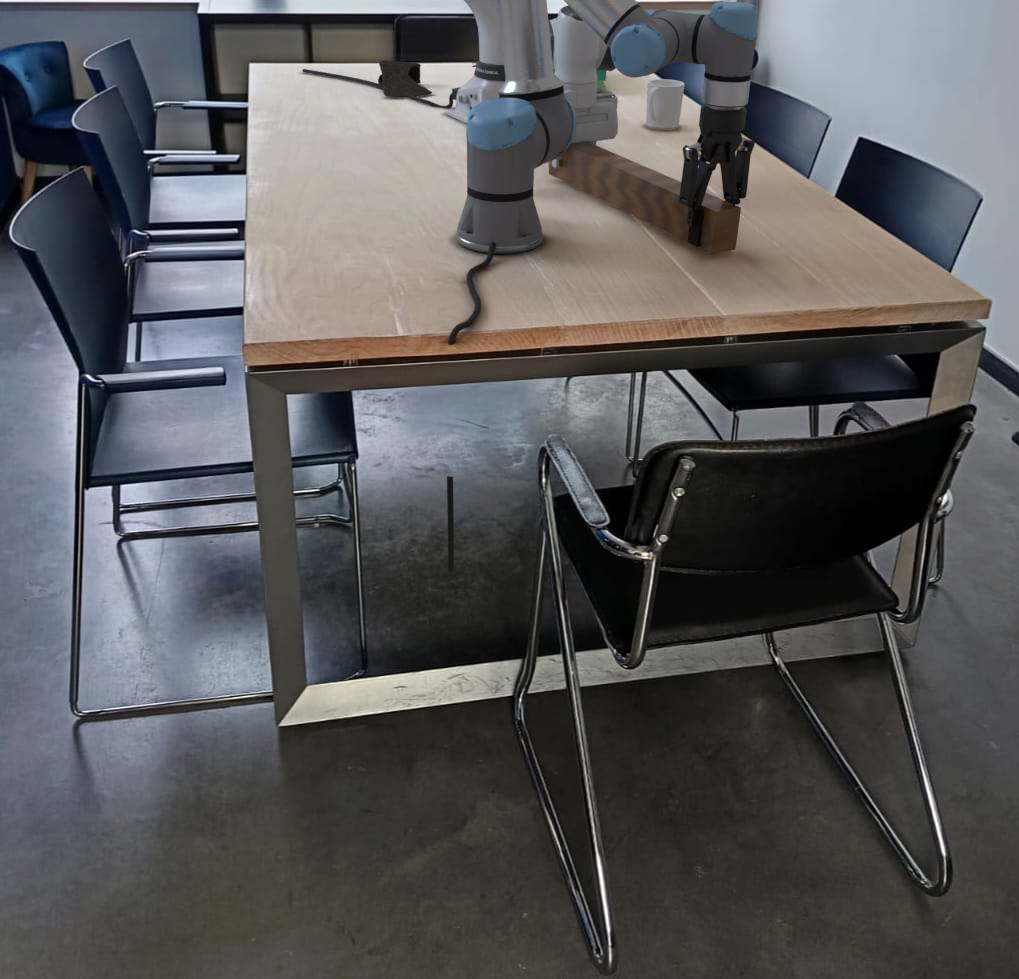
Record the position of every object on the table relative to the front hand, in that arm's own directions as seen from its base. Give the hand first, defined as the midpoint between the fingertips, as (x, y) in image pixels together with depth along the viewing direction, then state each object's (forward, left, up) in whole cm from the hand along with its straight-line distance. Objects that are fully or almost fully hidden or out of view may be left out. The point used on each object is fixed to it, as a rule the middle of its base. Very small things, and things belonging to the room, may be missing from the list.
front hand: (707, 241), depth 192 cm
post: (+19, +13, -1) cm, 23 cm away
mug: (+90, +9, -2) cm, 90 cm away
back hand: (+37, +27, +2) cm, 46 cm away
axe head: (+117, +79, -2) cm, 142 cm away
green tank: (+142, +36, -2) cm, 146 cm away
